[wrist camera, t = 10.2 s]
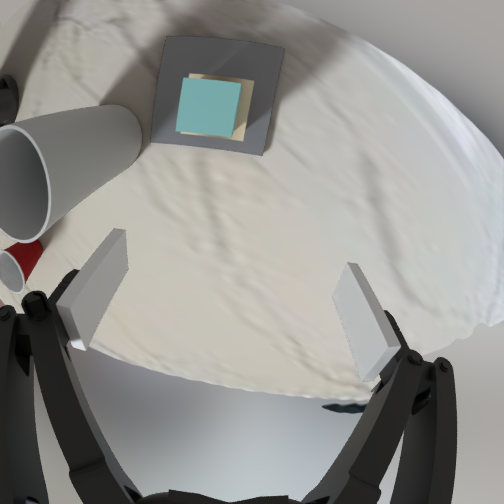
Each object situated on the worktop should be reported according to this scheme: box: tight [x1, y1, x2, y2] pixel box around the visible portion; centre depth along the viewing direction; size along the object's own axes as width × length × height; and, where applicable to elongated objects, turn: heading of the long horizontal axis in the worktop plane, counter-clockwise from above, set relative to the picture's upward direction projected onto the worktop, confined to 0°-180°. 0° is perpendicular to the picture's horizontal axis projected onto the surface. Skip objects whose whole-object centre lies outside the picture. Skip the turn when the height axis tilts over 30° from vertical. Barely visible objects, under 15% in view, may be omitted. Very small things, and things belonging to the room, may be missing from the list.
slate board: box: [150, 36, 285, 156], centre depth 35 cm, size 18×18×2 cm
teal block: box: [176, 78, 242, 138], centre depth 23 cm, size 5×5×6 cm
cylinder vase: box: [0, 104, 142, 243], centre depth 28 cm, size 12×12×25 cm
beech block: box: [180, 73, 254, 141], centre depth 28 cm, size 7×7×6 cm
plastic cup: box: [0, 239, 43, 294], centre depth 44 cm, size 11×11×12 cm
